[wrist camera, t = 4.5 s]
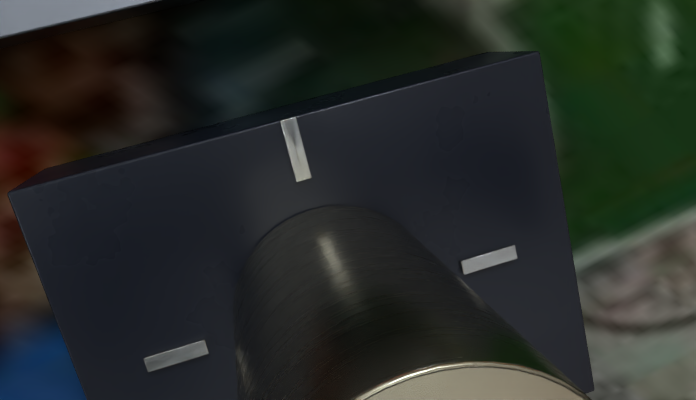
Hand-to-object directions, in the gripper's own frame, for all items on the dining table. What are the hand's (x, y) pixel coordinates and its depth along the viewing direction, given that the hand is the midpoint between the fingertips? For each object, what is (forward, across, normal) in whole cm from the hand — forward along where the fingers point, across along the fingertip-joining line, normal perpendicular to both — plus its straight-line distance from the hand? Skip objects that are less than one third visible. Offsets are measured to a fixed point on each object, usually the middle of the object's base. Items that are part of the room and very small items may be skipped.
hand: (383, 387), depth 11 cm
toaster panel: (+7, 0, 0) cm, 7 cm away
